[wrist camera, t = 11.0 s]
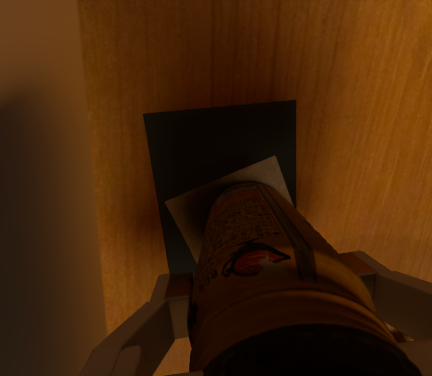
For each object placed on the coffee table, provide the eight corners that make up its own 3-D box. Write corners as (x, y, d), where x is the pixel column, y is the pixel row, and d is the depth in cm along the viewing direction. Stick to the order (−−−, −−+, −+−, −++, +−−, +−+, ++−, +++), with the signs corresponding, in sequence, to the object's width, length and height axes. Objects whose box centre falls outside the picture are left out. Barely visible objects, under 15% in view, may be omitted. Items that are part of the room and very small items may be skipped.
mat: (145, 114, 19) (142, 113, 18) (292, 101, 20) (296, 100, 19) (172, 281, 23) (171, 286, 23) (293, 266, 24) (296, 271, 23)
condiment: (307, 244, 16) (550, 564, 4) (205, 279, 17) (157, 606, 5) (274, 154, 14) (506, 237, 2) (165, 200, 15) (-32, 403, 4)
